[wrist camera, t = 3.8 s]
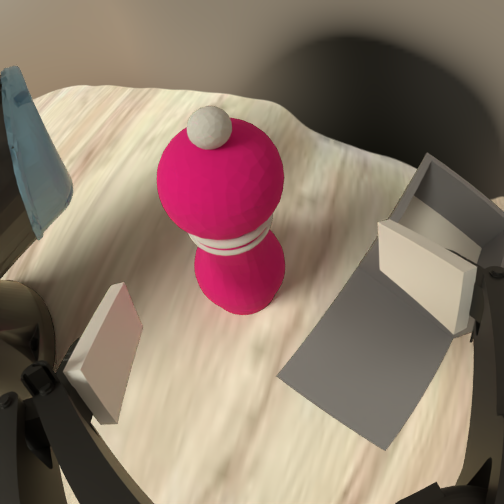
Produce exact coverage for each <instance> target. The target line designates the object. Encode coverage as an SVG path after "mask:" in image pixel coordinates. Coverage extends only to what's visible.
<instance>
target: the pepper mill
mask: <svg viewBox="0 0 504 504" xmlns="http://www.w3.org/2000/svg"><path fill="white" fill-rule="evenodd" d="M283 184H284V172H283V164H282V161H281V158H280V155H279V153H278V150H277V148H276V146H275V145H274V144H273V142H272V141H271V139H270V138H269V137H268V136H267V135H266V134H265V133H264V132H263V131H262V130H260V129H259V128H257V127H256V126H254V125H253V124H251V123H248V122H246V121H243V120H240V119H235V118H230V117H229V116H228V114H227V113H226V112H225V111H224V110H222V109H220V108H218V107H215V106H206V107H202V108H199V109H198V110H197V111H195V112H194V113H193V114H192V115H191V116H190V118H189V120H188V123H187V127H186V128H185V129H183V130H182V131H181V132H179V133H178V134H177V135H176V136H175V137H174V138H173V139H172V140H171V141H170V143H169V144H168V146H167V147H166V149H165V150H164V151H163V154H162V157H161V159H160V162H159V164H158V170H157V189H158V194H159V198H160V201H161V203H162V206H163V208H164V209H165V211H166V212H167V214H168V216H169V217H170V219H171V220H172V221H173V222H174V223H175V224H176V225H177V226H178V227H180V228H181V229H183V230H184V231H186V232H187V233H188V234H189V236H190V238H191V239H192V241H193V242H194V243H195V244H196V245H197V246H198V248H197V250H196V256H195V262H194V266H195V275H196V278H197V281H198V283H199V286H200V288H201V290H202V291H203V293H204V294H205V295H206V296H207V297H208V299H210V300H211V301H212V302H214V303H215V304H216V305H218V306H220V307H222V308H223V309H224V310H226V311H228V312H230V313H233V314H239V315H249V314H253V313H256V312H258V311H260V310H262V309H264V308H265V307H266V306H267V305H268V304H269V303H270V302H271V300H272V299H273V297H274V295H275V294H276V292H277V291H278V289H279V288H280V286H281V284H282V281H283V279H284V274H285V260H284V253H283V250H282V247H281V245H280V243H279V241H278V240H277V238H276V237H275V235H274V234H273V233H272V231H271V230H269V229H270V227H271V223H272V219H273V212H274V210H275V209H276V207H277V205H278V203H279V202H280V199H281V195H282V191H283Z"/></svg>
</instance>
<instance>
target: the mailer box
mask: <svg viewBox="0 0 504 504" xmlns="http://www.w3.org/2000/svg"><path fill="white" fill-rule="evenodd" d="M388 219H390V220H392V221H394V222H396V223H398V224H400V225H402V226H404V227H406V228H408V229H410V230H412V231H414V232H416V233H418V234H419V235H421V236H423V237H425V238H427V239H429V240H431V241H433V242H434V243H436V244H438V245H440V246H442V247H443V248H446V249H449V250H453V251H455V252H457V253H458V254H460V255H461V256H464V257H465V258H467V259H469V260H471V261H472V262H474V263H476V264H478V265H479V266H481V267H483V268H484V269H485V268H487V267H490V266H498V267H502V268H504V212H503V211H502V210H501V209H500V208H499V207H498V206H497V205H495V204H494V203H493V202H492V201H491V200H489V199H488V198H487V197H486V196H485V195H484V194H482V193H481V192H480V191H479V190H477V189H476V188H475V187H474V186H472V185H471V184H470V183H469V182H467V181H466V180H465V179H463V178H462V177H461V176H459V175H458V174H457V173H456V172H454V171H453V170H451V169H450V168H449V167H447V166H446V165H444V164H443V163H442V162H440V161H439V160H437V159H436V158H435V157H433V156H431V155H430V154H429V153H427V154H426V155H425V157H424V159H423V160H422V163H421V164H420V166H419V167H418V169H417V171H416V173H415V174H414V176H413V178H412V179H411V181H410V183H409V184H408V186H407V188H406V189H405V191H404V193H403V195H402V196H401V198H400V200H399V202H398V203H397V205H396V207H395V208H394V210H393V212H392V213H391V215H390V217H389V218H388ZM474 322H475V319H474V318H472V317H471V316H470V315H469V320H468V324H467V328H466V329H464V330H462V331H460V332H458V333H456V334H454V335H453V334H452V333H451V332H450V331H449V330H448V329H447V328H446V327H445V326H444V325H443V324H442V323H440V322H439V321H438V320H437V319H436V318H435V317H434V316H433V315H432V314H431V313H429V312H428V311H427V310H426V309H425V308H424V307H423V306H422V305H420V304H419V303H418V302H417V301H416V300H415V299H414V298H412V297H411V296H410V295H409V294H408V293H407V292H405V291H404V290H403V289H402V288H401V287H400V286H398V285H397V284H396V283H395V282H394V281H393V280H391V279H390V278H389V277H388V276H387V275H385V274H384V273H383V272H382V271H381V270H380V266H379V239H378V236H377V238H376V239H375V241H374V242H373V244H372V246H371V247H370V249H369V250H368V252H367V253H366V255H365V256H364V258H363V259H362V261H361V262H360V264H359V265H358V267H357V268H356V270H355V271H354V273H353V274H352V276H351V277H350V279H349V280H348V282H347V283H346V285H345V286H344V287H343V289H342V290H341V292H340V293H339V295H338V296H337V297H336V299H335V300H334V302H333V303H332V304H331V306H330V307H329V309H328V310H327V311H326V313H325V314H324V315H323V317H322V318H321V319H320V321H319V322H318V324H317V325H316V326H315V328H314V329H313V330H312V332H311V333H310V334H309V335H308V337H307V338H306V339H305V341H304V342H303V343H302V345H301V346H300V347H299V348H298V350H297V351H296V352H295V354H294V355H293V356H292V357H291V359H290V360H289V361H288V362H287V364H286V365H285V366H284V367H283V369H282V370H281V371H280V372H279V373H278V375H277V377H278V378H279V379H281V380H282V381H283V382H285V383H286V384H287V385H289V386H290V387H291V388H293V389H294V390H295V391H297V392H298V393H300V394H301V395H302V396H304V397H305V398H307V399H308V400H309V401H311V402H312V403H314V404H315V405H316V406H318V407H319V408H321V409H322V410H323V411H325V412H326V413H328V414H329V415H331V416H332V417H334V418H335V419H337V420H338V421H340V422H341V423H343V424H344V425H346V426H347V427H349V428H350V429H352V430H353V431H355V432H356V433H358V434H359V435H361V436H362V437H364V438H365V439H367V440H369V441H370V442H372V443H373V444H375V445H376V446H378V447H380V448H381V449H383V450H385V451H386V449H387V448H388V447H389V445H390V444H391V442H392V441H393V440H394V438H395V437H396V436H397V434H398V433H399V431H400V430H401V428H402V427H403V425H404V424H405V422H406V421H407V420H408V418H409V416H410V415H411V413H412V412H413V410H414V409H415V407H416V406H417V404H418V402H419V401H420V399H421V397H422V396H423V394H424V392H425V391H426V389H427V387H428V386H429V384H430V382H431V380H432V379H433V377H434V375H435V373H436V371H437V369H438V368H439V366H440V364H441V362H442V360H443V358H444V356H445V354H446V352H447V350H448V348H449V346H450V344H451V342H452V340H453V338H456V337H459V336H462V335H465V334H468V333H471V332H472V331H473V326H474Z"/></svg>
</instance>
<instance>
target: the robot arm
mask: <svg viewBox="0 0 504 504" xmlns="http://www.w3.org/2000/svg"><path fill="white" fill-rule="evenodd" d="M72 196H73V183H72V179H71V177H70V175H69V173H68V171H67V169H66V167H65V166H64V164H63V162H62V160H61V158H60V156H59V154H58V152H57V150H56V148H55V146H54V144H53V142H52V140H51V138H50V136H49V134H48V132H47V130H46V128H45V126H44V124H43V122H42V119H41V117H40V115H39V113H38V111H37V109H36V107H35V104H34V102H33V100H32V97H31V95H30V93H29V91H28V88H27V86H26V83H25V80H24V78H23V75H22V73H21V70H20V68H19V67H18V66H12V67H9V68H4V69H3V71H1V75H0V279H1V278H2V277H3V275H4V274H5V273H6V272H7V271H8V270H9V269H10V267H11V266H12V265H13V264H14V263H15V262H16V261H17V260H18V258H19V257H20V256H21V255H22V254H23V253H24V252H25V251H26V250H27V249H28V248H29V247H30V246H31V245H32V243H33V242H34V241H35V240H36V239H37V240H40V239H41V238H42V237H43V233H44V231H45V230H46V229H47V228H48V227H49V226H50V225H51V224H52V223H53V222H54V221H55V220H56V219H57V218H58V217H59V216H60V214H61V213H62V212H63V211H64V210H65V209H66V208H67V207H68V205H69V204H70V202H71V199H72ZM378 239H379V266H380V270H381V271H382V272H383V273H384V274H385V275H387V276H388V277H389V278H390V279H391V280H393V281H394V282H395V283H396V284H397V285H398V286H400V287H401V288H402V289H403V290H404V291H405V292H407V293H408V294H409V295H410V296H411V297H412V298H414V299H415V300H416V301H417V302H418V303H419V304H420V305H422V306H423V307H424V308H425V309H426V310H427V311H428V312H429V313H431V314H432V315H433V316H434V317H435V318H436V319H437V320H438V321H439V322H440V323H442V324H443V325H444V326H445V327H446V328H447V329H448V330H449V331H450V332H451V333H452V334H453V335H454V334H456V333H458V332H460V331H462V330H464V329H466V328H467V324H468V320H469V315H470V316H471V317H472V318H474V319H475V322H474V326H473V331H472V335H471V339H470V342H472V341H473V339H474V376H473V395H472V408H471V418H470V427H469V435H468V442H467V448H466V454H465V459H464V464H463V468H462V471H461V474H460V476H459V478H458V480H457V483H456V485H455V486H450V487H445V488H441V489H440V487H439V485H438V484H437V482H435V483H433V484H431V485H430V486H428V487H426V488H424V489H422V490H420V491H418V492H416V493H414V494H412V495H410V496H408V497H406V498H404V499H402V500H400V501H398V502H397V503H395V504H504V268H502V267H498V266H490V267H487V268H485V269H484V268H483V267H481V266H479V265H478V264H476V263H474V262H472V261H471V260H469V259H467V258H465V257H464V256H461V255H460V254H458V253H457V252H455V251H453V250H449V249H446V248H443V247H442V246H440V245H438V244H436V243H434V242H433V241H431V240H429V239H427V238H425V237H423V236H421V235H419V234H418V233H416V232H414V231H412V230H410V229H408V228H406V227H404V226H402V225H400V224H398V223H396V222H394V221H392V220H390V219H388V220H384V221H380V222H378ZM142 330H143V326H142V324H141V321H140V319H139V317H138V314H137V312H136V310H135V307H134V305H133V302H132V300H131V297H130V295H129V292H128V290H127V287H126V285H125V282H122V283H118V284H114V285H111V286H110V288H109V289H108V291H107V293H106V294H105V296H104V298H103V299H102V301H101V303H100V304H99V306H98V308H97V310H96V311H95V313H94V315H93V317H92V318H91V320H90V322H89V324H88V325H87V327H86V329H85V331H84V332H83V334H82V336H81V338H78V339H77V340H76V341H75V342H74V343H73V344H72V345H71V346H70V348H69V350H68V352H67V355H65V357H64V359H63V360H64V361H62V363H61V365H60V366H59V368H58V370H57V372H56V374H55V373H54V371H53V365H54V357H55V336H54V329H53V324H52V320H51V316H50V314H49V311H48V309H47V307H46V305H45V303H44V301H43V300H42V298H41V297H40V296H39V295H38V294H37V293H36V292H35V291H34V290H32V289H30V288H29V287H27V286H25V285H23V284H21V283H19V282H16V281H13V280H0V504H67V501H66V496H65V492H64V488H63V483H62V478H61V473H60V467H61V469H62V471H63V473H64V475H65V477H66V479H67V481H68V483H69V485H70V487H71V489H72V491H73V492H74V494H75V496H76V498H77V500H78V501H79V503H80V504H154V503H153V502H152V501H151V500H150V499H149V497H148V496H147V495H146V494H145V493H144V492H143V491H142V489H141V488H140V487H139V486H138V485H137V484H136V482H135V481H134V480H133V479H132V478H131V476H130V475H129V474H128V473H127V471H126V470H125V469H124V468H123V466H122V465H121V464H120V462H119V461H118V460H117V458H116V457H115V456H114V454H113V453H112V452H111V450H110V449H109V448H108V446H107V445H106V443H105V442H104V441H103V439H102V438H101V436H100V435H99V433H98V432H97V430H96V429H95V427H94V426H93V425H92V424H91V419H92V416H94V417H95V418H96V419H97V421H98V422H99V423H100V424H101V425H104V424H118V419H119V415H120V411H121V407H122V403H123V399H124V395H125V391H126V387H127V383H128V379H129V375H130V372H131V368H132V364H133V361H134V357H135V354H136V350H137V347H138V343H139V340H140V336H141V333H142ZM59 465H60V467H59Z"/></svg>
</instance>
